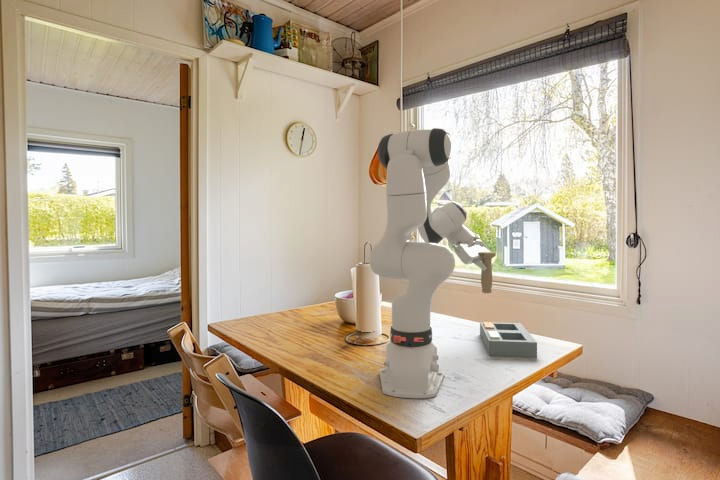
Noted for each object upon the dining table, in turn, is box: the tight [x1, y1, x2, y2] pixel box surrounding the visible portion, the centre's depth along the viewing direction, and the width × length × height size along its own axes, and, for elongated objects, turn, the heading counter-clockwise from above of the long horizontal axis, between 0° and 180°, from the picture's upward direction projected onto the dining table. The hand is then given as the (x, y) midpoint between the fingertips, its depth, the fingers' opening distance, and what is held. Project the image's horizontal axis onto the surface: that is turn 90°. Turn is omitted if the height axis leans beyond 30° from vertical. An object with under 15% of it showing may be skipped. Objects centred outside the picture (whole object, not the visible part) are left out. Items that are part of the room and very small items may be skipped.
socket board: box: [479, 321, 538, 359], centre depth 143 cm, size 24×15×6 cm, turn 170°
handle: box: [478, 251, 497, 294], centre depth 148 cm, size 5×6×15 cm
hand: (488, 268), depth 147 cm, fingers closed on handle, 3 cm apart
